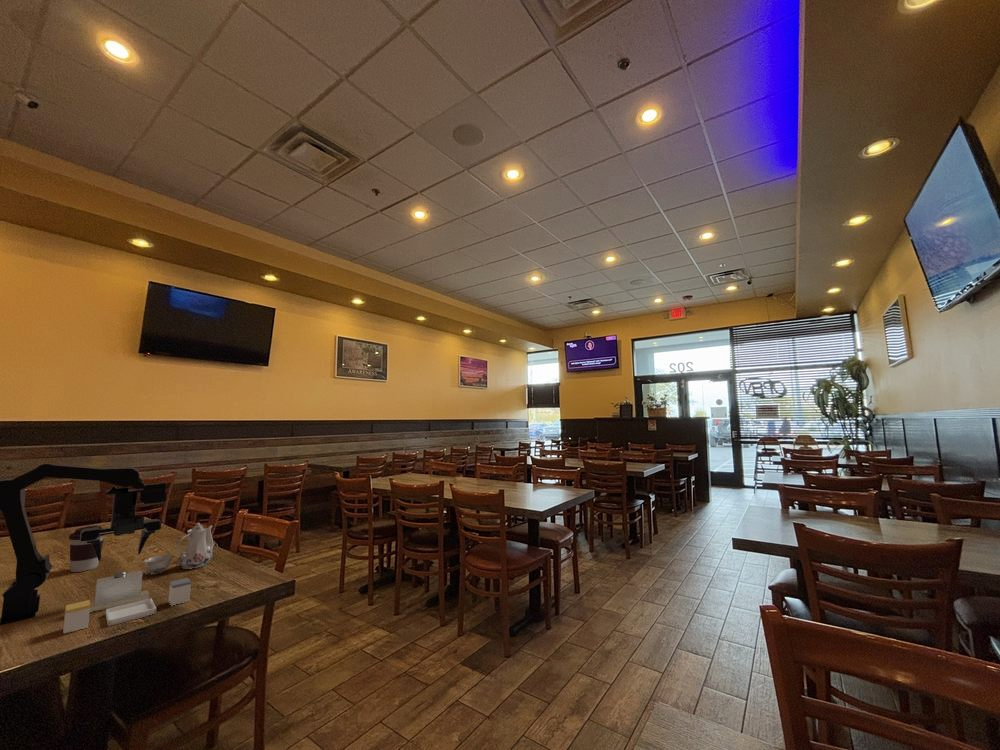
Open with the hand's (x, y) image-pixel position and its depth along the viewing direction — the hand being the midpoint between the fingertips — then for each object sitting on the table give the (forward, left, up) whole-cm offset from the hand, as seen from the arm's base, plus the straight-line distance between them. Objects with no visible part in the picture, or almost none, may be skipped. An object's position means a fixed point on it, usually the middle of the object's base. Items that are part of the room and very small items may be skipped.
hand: (119, 557), depth 129 cm
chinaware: (+22, +19, -12) cm, 31 cm away
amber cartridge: (-9, -19, -12) cm, 24 cm away
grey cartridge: (+13, -19, -12) cm, 26 cm away
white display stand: (0, -7, -12) cm, 14 cm away
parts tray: (+2, -19, -12) cm, 23 cm away
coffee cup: (-6, +42, -12) cm, 44 cm away
